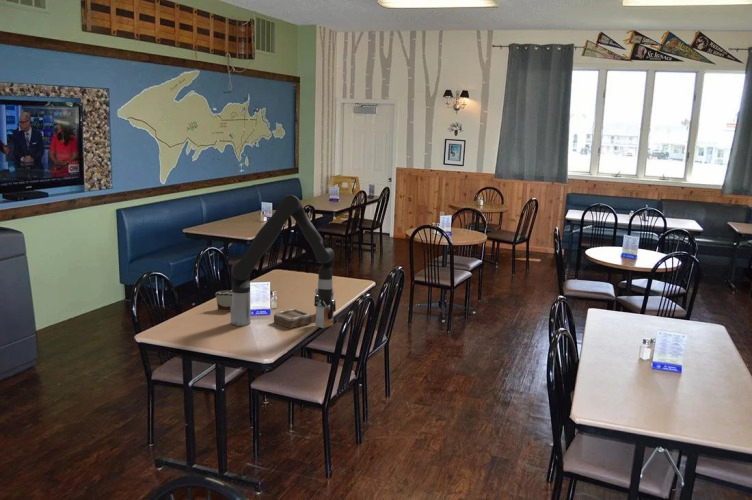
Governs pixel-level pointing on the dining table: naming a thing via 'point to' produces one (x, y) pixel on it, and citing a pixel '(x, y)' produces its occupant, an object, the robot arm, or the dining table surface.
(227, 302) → the food container
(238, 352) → the dining table surface
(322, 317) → the small box
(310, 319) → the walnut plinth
